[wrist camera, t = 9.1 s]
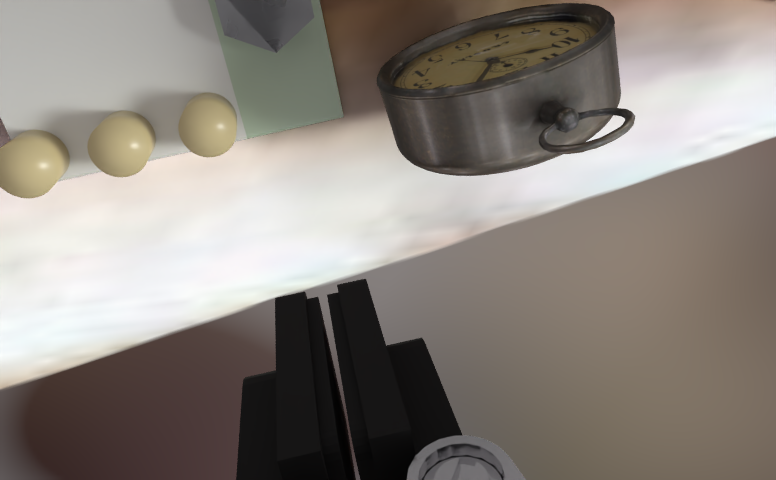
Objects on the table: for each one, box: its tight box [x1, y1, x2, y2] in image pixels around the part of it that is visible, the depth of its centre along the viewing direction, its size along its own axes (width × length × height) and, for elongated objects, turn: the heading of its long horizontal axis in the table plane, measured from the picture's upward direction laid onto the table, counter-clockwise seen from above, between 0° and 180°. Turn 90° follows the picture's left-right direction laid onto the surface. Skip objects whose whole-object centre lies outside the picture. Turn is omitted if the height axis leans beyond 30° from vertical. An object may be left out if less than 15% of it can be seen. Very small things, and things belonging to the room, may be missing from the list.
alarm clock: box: [377, 3, 635, 176], centre depth 27 cm, size 11×5×16 cm, turn 108°
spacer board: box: [0, 0, 344, 198], centre depth 29 cm, size 17×14×3 cm
